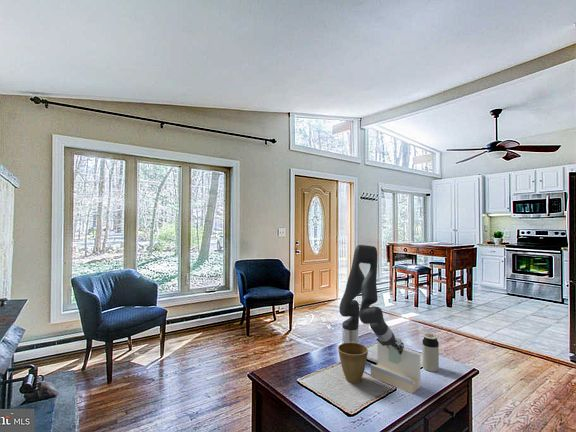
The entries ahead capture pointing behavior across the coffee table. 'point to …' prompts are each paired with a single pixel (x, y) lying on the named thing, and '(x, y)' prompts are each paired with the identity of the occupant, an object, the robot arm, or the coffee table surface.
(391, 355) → the pale green block
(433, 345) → the travel mug
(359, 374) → the plant pot
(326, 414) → the coffee table surface
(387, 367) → the white display stand
